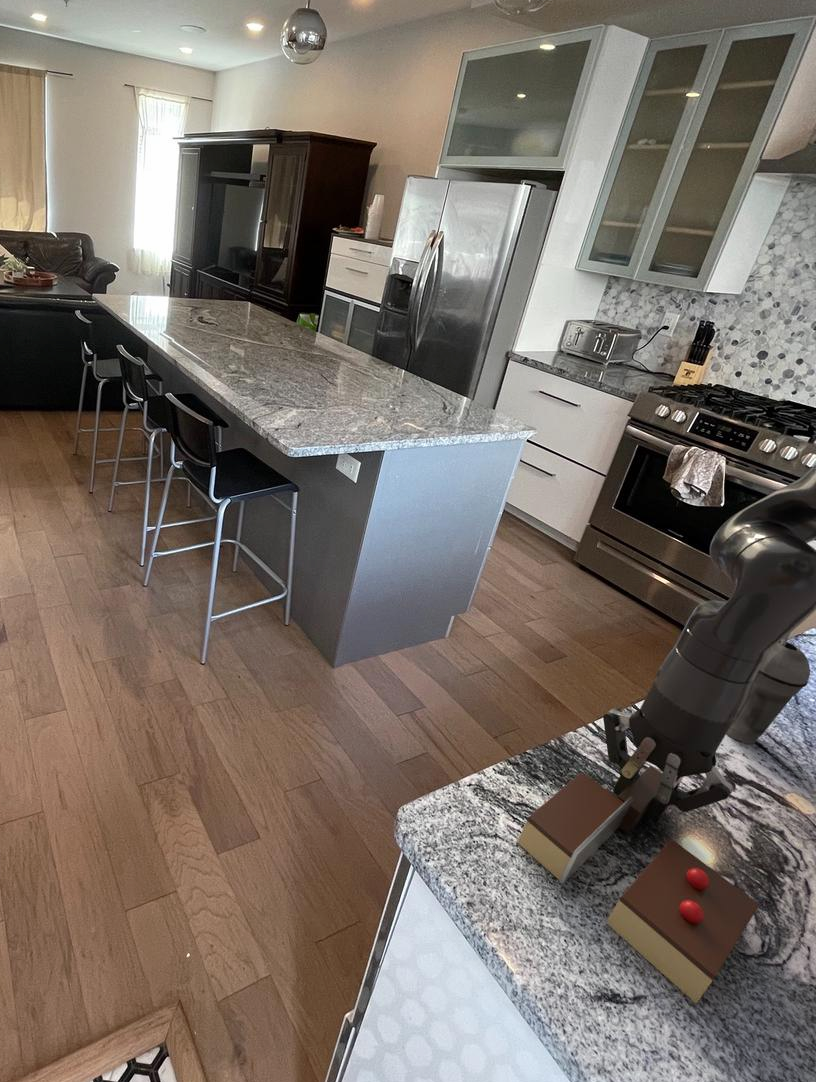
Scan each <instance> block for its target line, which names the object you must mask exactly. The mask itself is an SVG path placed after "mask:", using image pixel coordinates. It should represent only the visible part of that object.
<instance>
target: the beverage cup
mask: <svg viewBox="0 0 816 1082" xmlns="http://www.w3.org/2000/svg"><path fill="white" fill-rule="evenodd" d="M790 635H791V633H790V634H789V635H788V636H786V637H785V638H784V639H783V640H781V641H780V642H779V643H777V644H776V645H775V646H774V647H772V648H771V650H770V652H769V654H768V656H767V658H766V659H765V661H764V663H763V665H762V666H761V668H760V670H759V672H758V673H757V675H756V677H755V679H754V680H753V682H752V684H751V687H750V690H749V693H748V696H747V698H746V700H745V702H744V704H743V706H742V707H741V709H740V711H739V713H738V715H737V716H736V718H735V720H734V721H733V723H732V725H731V726H730V728H729V730H728V732H727V733H726V735H727V736H728V737H729V738H731V737H732V738H731V739H733V740H735V739H736V740H735V741H737V740H738V742H739V741H741V742H740V743H742V742H743V743H742V744H745V743H747V744H746V745H755V743H756V742H757V741H758V740H759V738H760V737H762V736H763V735H764V733H765V732H766V731H767V729H768V728H769V727H770V726H771V724H772V723H773V722H774V721H775V719H776V718H777V717H778V716H779V714H780V713H781V712H782V711H783V709H784V708H785V707H786V706H787V705H788V703H789V702H790V701H791V699H792V698H793V697H795V696H796V695H797V694H798V693H799V692H800V691H801V690H802V689H804V688H805V687H806V686H807V685H808V683H809V679H810V675H811V667H810V662H809V659H808V657H807V656H806V654H805V653H804V652H803V650H801V649H800V648H799V647H798V646H796V645H794V644H793V643H791V642H788V640H789V638H790Z"/></svg>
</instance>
